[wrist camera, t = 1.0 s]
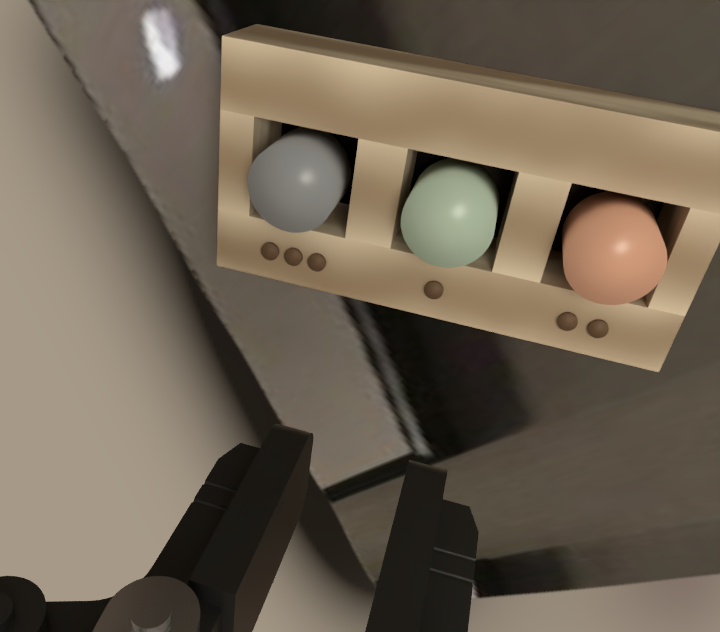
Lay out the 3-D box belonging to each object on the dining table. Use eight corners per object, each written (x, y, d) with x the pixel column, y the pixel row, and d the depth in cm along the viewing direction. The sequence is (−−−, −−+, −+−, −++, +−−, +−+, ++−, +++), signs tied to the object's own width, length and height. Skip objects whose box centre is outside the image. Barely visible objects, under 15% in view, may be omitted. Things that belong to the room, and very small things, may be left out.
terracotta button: (577, 182, 29) (580, 206, 27) (670, 202, 29) (683, 228, 26) (550, 263, 31) (551, 292, 29) (637, 282, 31) (646, 314, 28)
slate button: (273, 119, 31) (249, 136, 28) (356, 136, 30) (339, 155, 28) (268, 199, 33) (245, 222, 30) (345, 216, 32) (329, 241, 30)
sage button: (420, 149, 30) (409, 170, 27) (509, 168, 29) (505, 190, 27) (405, 230, 32) (393, 256, 30) (487, 248, 32) (482, 276, 29)
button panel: (256, 23, 31) (220, 36, 28) (740, 115, 28) (768, 142, 25) (246, 234, 37) (215, 266, 34) (647, 328, 34) (659, 374, 31)
